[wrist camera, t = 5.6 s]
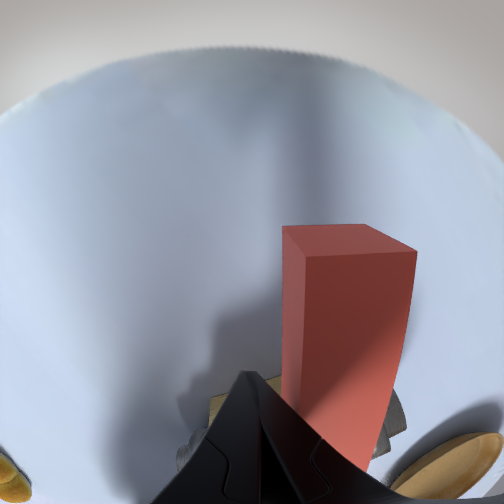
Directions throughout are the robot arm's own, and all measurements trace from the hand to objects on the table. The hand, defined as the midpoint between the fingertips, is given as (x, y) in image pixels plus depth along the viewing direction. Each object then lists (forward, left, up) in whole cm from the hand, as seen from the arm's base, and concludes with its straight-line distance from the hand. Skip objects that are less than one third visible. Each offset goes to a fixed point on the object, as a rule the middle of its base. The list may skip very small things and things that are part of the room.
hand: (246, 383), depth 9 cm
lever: (+1, -4, -1) cm, 4 cm away
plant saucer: (+10, -28, -8) cm, 30 cm away
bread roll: (-34, -11, -8) cm, 37 cm away
